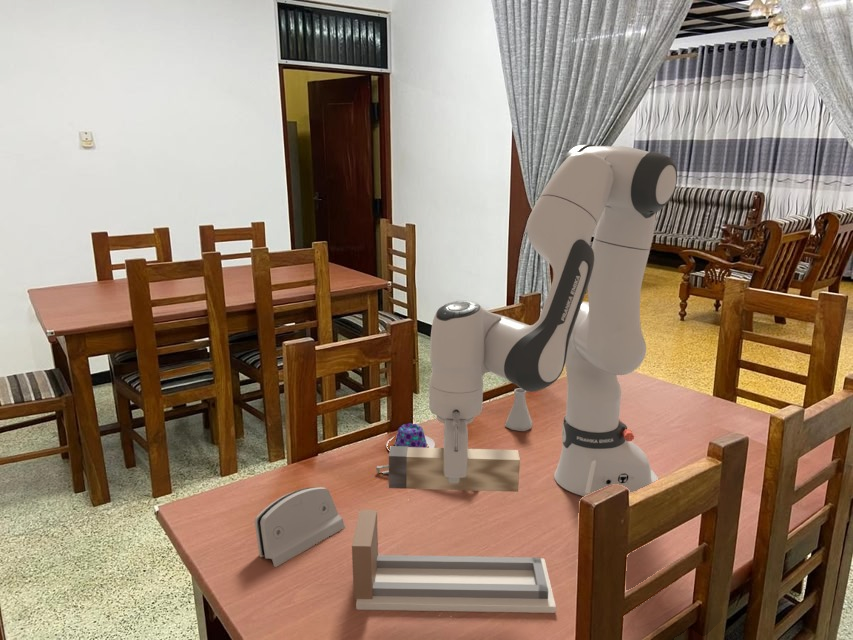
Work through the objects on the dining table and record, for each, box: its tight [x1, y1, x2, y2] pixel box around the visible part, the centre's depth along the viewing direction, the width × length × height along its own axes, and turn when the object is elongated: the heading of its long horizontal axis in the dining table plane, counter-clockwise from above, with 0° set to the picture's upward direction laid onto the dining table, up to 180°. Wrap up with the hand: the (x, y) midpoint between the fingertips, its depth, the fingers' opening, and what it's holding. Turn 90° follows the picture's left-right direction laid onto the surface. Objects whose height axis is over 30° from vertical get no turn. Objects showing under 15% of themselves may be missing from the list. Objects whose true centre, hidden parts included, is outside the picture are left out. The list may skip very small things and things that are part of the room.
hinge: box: [254, 486, 346, 568], centre depth 120 cm, size 17×5×10 cm, turn 137°
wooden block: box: [388, 446, 521, 493], centre depth 109 cm, size 22×4×6 cm, turn 88°
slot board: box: [351, 509, 557, 614], centre depth 106 cm, size 32×12×11 cm, turn 89°
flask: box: [504, 387, 533, 432], centre depth 166 cm, size 7×7×10 cm
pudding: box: [385, 423, 436, 452], centre depth 155 cm, size 12×12×5 cm
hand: (453, 473), depth 109 cm, fingers closed on wooden block, 3 cm apart
